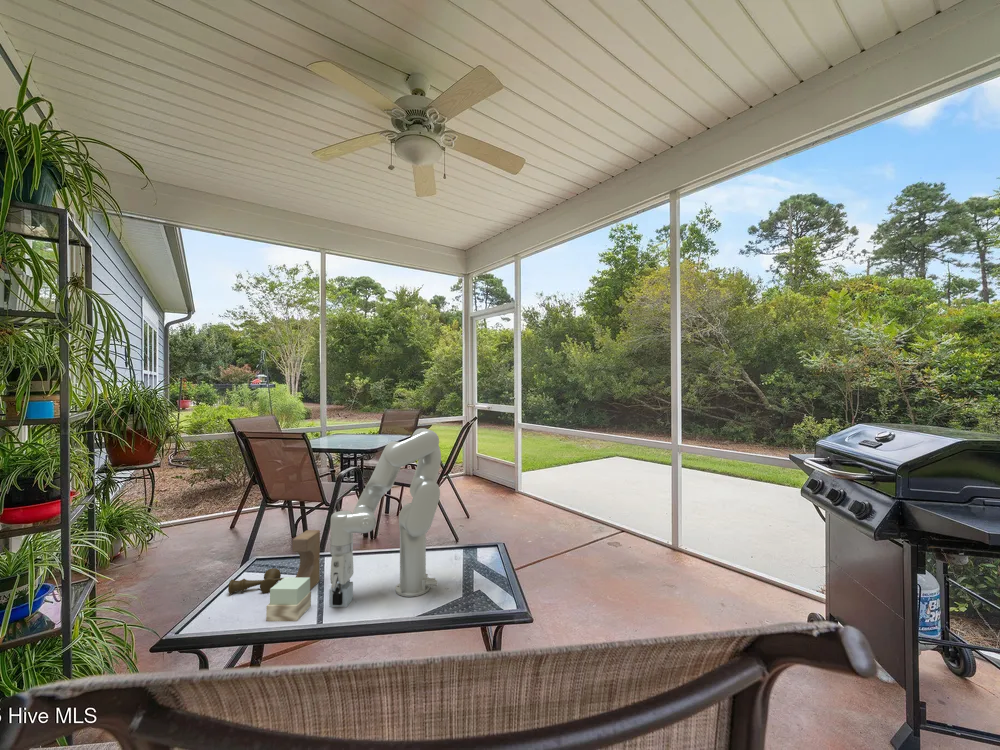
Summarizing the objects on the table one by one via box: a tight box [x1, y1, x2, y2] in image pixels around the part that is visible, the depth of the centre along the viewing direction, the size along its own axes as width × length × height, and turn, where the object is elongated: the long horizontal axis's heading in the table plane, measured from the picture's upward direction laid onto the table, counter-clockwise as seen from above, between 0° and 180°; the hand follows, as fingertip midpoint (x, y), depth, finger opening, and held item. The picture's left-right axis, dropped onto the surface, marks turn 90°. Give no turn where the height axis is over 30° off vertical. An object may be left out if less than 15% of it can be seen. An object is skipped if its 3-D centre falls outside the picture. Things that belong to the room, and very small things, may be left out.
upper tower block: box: [269, 576, 311, 605], centre depth 145 cm, size 9×9×5 cm
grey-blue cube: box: [328, 581, 354, 608], centre depth 151 cm, size 6×6×6 cm
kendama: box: [227, 567, 284, 595], centre depth 162 cm, size 6×10×20 cm
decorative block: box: [292, 529, 321, 591], centre depth 164 cm, size 11×6×20 cm, turn 177°
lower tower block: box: [265, 591, 312, 622], centre depth 144 cm, size 10×10×5 cm
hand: (341, 599), depth 151 cm, fingers closed on grey-blue cube, 6 cm apart
